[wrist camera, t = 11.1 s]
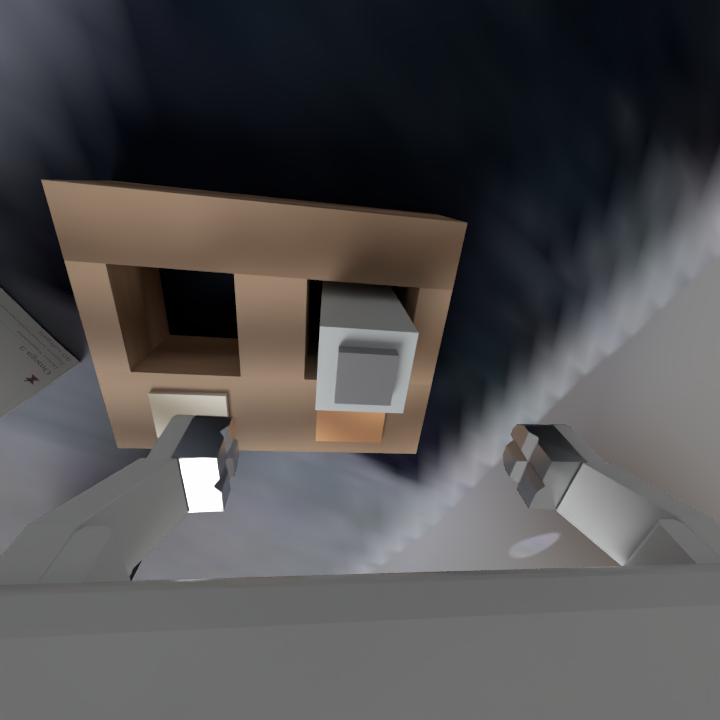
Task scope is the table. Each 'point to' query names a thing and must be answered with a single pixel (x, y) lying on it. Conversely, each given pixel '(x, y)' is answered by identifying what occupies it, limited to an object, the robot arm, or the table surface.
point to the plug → (363, 349)
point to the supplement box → (26, 356)
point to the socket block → (244, 307)
